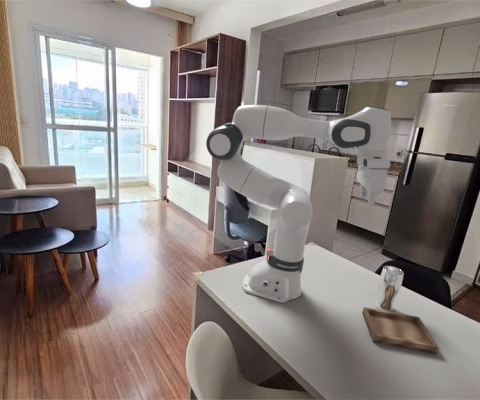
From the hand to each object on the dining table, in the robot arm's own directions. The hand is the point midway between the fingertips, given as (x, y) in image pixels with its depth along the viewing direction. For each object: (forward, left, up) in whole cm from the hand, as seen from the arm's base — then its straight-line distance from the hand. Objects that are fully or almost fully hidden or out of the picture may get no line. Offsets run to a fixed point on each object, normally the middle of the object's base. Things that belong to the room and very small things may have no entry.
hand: (367, 200), depth 98 cm
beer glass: (+14, 0, -39) cm, 41 cm away
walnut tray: (+14, -13, -39) cm, 43 cm away
